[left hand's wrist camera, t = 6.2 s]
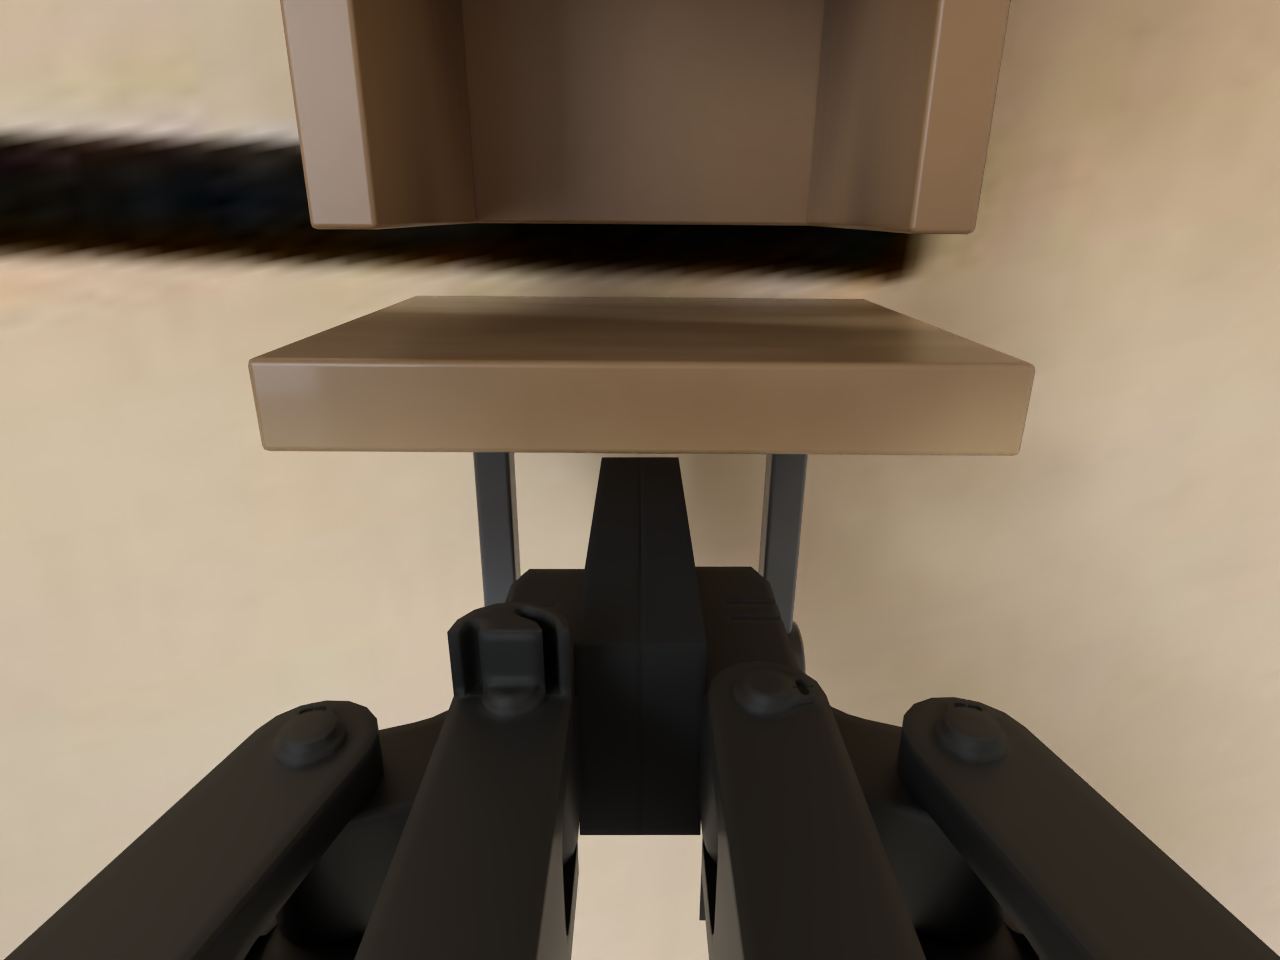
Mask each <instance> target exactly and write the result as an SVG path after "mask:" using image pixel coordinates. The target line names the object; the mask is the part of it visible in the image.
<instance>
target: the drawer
mask: <svg viewBox="0 0 1280 960" xmlns="http://www.w3.org/2000/svg"><path fill="white" fill-rule="evenodd" d="M280 3H281V10H282V17H283V24H284V32H285V39H286V46H287V53H288V61H289V68H290V75H291V82H292V90H293V97H294V104H295V111H296V119H297V126H298V133H299V140H300V147H301V155H302V162H303V169H304V176H305V184H306V191H307V198H308V205H309V213H310V220H311V224H312V227H314V228H316V229H387V228H402V227H417V226H433V225H448V224H463V223H560V224H682V225H804V226H821V227H834V228H847V229H860V230H872V231H885V232H898V233H911V234H969V233H972V232H973V231H974V229H975V224H976V218H977V212H978V205H979V199H980V192H981V186H982V180H983V173H984V167H985V160H986V154H987V147H988V141H989V135H990V128H991V122H992V115H993V109H994V103H995V96H996V90H997V83H998V77H999V71H1000V64H1001V58H1002V51H1003V45H1004V38H1005V32H1006V26H1007V19H1008V13H1009V6H1010V0H280ZM248 367H249V373H250V378H251V384H252V390H253V395H254V401H255V407H256V412H257V418H258V423H259V429H260V435H261V440H262V446H263V448H264V449H265V450H269V451H366V452H473V455H474V469H475V482H476V496H477V510H478V523H479V537H480V550H481V564H482V577H483V591H484V604H485V607H486V606H489V605H492V604H496V603H505V601H506V598H507V595H508V592H509V589H510V586H511V584H513V583H514V582H515V581H516V580H517V579H518V578H520V577H521V575H520V557H519V538H518V520H517V501H516V483H515V464H514V452H522V453H677V454H767V458H766V472H765V486H764V501H763V515H762V529H761V543H760V557H759V571H758V573H759V574H760V575H761V576H762V577H764V578H765V579H766V580H767V581H768V582H769V583H770V585H771V588H772V591H773V594H774V597H775V600H776V604H777V606H778V609H779V611H780V614H781V620H783V623H784V626H785V629H786V632H787V635H788V637H789V640H790V643H791V646H792V649H793V652H794V655H795V658H796V661H797V663H798V666H799V669H800V671H802V672H803V673H805V656H804V648H803V642H802V637H801V634H800V631H799V628H798V626H797V624H796V623H795V622H794V621H792V620H793V609H794V598H795V587H796V576H797V565H798V554H799V543H800V532H801V521H802V510H803V499H804V488H805V477H806V466H807V455H808V454H833V455H989V456H1012V455H1016V454H1018V452H1019V451H1020V446H1021V441H1022V436H1023V431H1024V425H1025V420H1026V415H1027V410H1028V405H1029V400H1030V395H1031V390H1032V384H1033V379H1034V374H1035V367H1034V365H1032V364H1030V363H1027V362H1025V361H1022V360H1020V359H1017V358H1014V357H1012V356H1009V355H1007V354H1004V353H1001V352H999V351H996V350H994V349H991V348H988V347H986V346H983V345H981V344H978V343H975V342H973V341H970V340H968V339H965V338H963V337H960V336H957V335H955V334H952V333H950V332H947V331H944V330H942V329H939V328H937V327H934V326H931V325H929V324H926V323H924V322H921V321H918V320H916V319H913V318H911V317H908V316H905V315H903V314H900V313H898V312H895V311H893V310H890V309H887V308H885V307H882V306H880V305H877V304H874V303H872V302H869V301H867V300H864V299H753V298H623V297H492V296H415V297H413V298H410V299H407V300H405V301H402V302H400V303H397V304H394V305H392V306H389V307H386V308H384V309H381V310H378V311H376V312H373V313H371V314H368V315H365V316H363V317H360V318H357V319H355V320H352V321H350V322H347V323H344V324H342V325H339V326H336V327H334V328H331V329H328V330H326V331H323V332H321V333H318V334H315V335H313V336H310V337H307V338H305V339H302V340H299V341H297V342H294V343H292V344H289V345H286V346H284V347H281V348H278V349H276V350H273V351H271V352H268V353H265V354H263V355H260V356H257V357H255V358H252V359H250V360H249V364H248Z"/></svg>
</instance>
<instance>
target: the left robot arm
mask: <svg viewBox="0 0 1280 960" xmlns="http://www.w3.org/2000/svg"><path fill="white" fill-rule="evenodd" d="M447 634H448V643H449V653H450V662H451V671H452V681H453V690H454V697H453V700H452V703H451V705H450V708H449V710H448V711H445V712H443V713H441V714H439V715H437V716H434V717H432V718H429V719H425V720H422V721H418V722H415V723H410V724H406V725H401V726H396V727H392V728H387V729H383V730H378V723H377V718H376V717H375V716H374V715H373V714H372V713H371V712H370V710H369V709H368V708H367V707H364V706H361V705H359V704H356V703H353V702H350V701H322V702H316V703H311V704H307V705H302V706H299V707H297V708H294V709H292V710H290V711H287V712H285V713H282V714H280V715H278V716H276V717H274V718H273V719H272V720H270V721H269V722H267V723H266V724H264V725H263V726H262V727H260V728H259V729H257V730H256V731H255V732H254V733H253V734H251V735H250V736H249V737H248V738H247V739H246V740H245V741H244V742H243V743H242V744H240V745H239V746H238V747H237V748H236V749H235V750H234V751H233V752H232V753H231V754H230V755H228V756H227V757H226V758H225V759H224V760H223V761H222V762H221V763H220V764H219V765H217V766H216V767H215V768H214V769H213V770H212V771H211V772H210V773H209V774H208V775H206V776H205V777H204V778H203V779H202V780H201V781H200V782H199V783H198V784H197V785H195V786H194V787H193V788H192V789H191V790H190V791H189V792H188V793H187V794H186V795H184V796H183V797H182V798H181V799H180V800H179V801H178V802H177V803H176V804H175V805H173V806H172V807H171V808H170V809H169V810H168V811H167V812H166V813H165V814H164V815H162V816H161V817H160V818H159V819H158V820H157V821H156V822H155V823H154V824H153V825H151V826H150V827H149V828H148V829H147V830H146V831H145V832H144V833H143V834H142V835H140V836H139V837H138V838H137V839H136V840H135V841H134V842H133V843H132V844H131V845H129V846H128V847H127V848H126V849H125V850H124V851H123V852H122V853H121V854H120V855H118V856H117V857H116V858H115V859H114V860H113V861H112V862H111V863H110V864H109V865H108V866H106V867H105V868H104V869H103V870H102V871H101V872H100V873H99V874H98V875H97V876H95V877H94V878H93V879H92V880H91V881H90V882H89V883H88V884H87V885H86V886H84V887H83V888H82V889H81V890H80V891H79V892H78V893H77V894H76V895H75V896H73V897H72V898H71V899H70V900H69V901H68V902H67V903H66V904H65V905H64V906H62V907H61V908H60V909H59V910H58V911H57V912H56V913H55V914H54V915H53V916H51V917H50V918H49V919H48V920H47V921H46V922H45V923H44V924H43V925H42V926H40V927H39V928H38V929H37V930H36V931H35V932H34V933H33V934H32V935H31V936H29V937H28V938H27V939H26V940H25V941H24V942H23V943H22V944H21V945H20V946H18V947H17V948H16V949H15V950H14V951H13V952H12V953H11V954H10V955H9V956H7V957H6V958H5V959H4V960H571V953H572V941H573V930H574V919H575V908H576V897H577V885H578V874H579V869H578V843H577V840H578V831H579V822H580V835H700V827H701V825H702V835H703V843H702V869H701V895H700V920H706V929H707V940H708V952H709V960H1280V957H1279V956H1278V955H1277V954H1276V953H1275V952H1274V951H1273V950H1272V949H1270V948H1269V947H1268V946H1267V945H1266V944H1265V943H1264V942H1263V941H1262V940H1260V939H1259V938H1258V937H1257V936H1256V935H1255V934H1254V933H1253V932H1252V931H1251V930H1249V929H1248V928H1247V927H1246V926H1245V925H1244V924H1243V923H1242V922H1241V921H1239V920H1238V919H1237V918H1236V917H1235V916H1234V915H1233V914H1232V913H1231V912H1229V911H1228V910H1227V909H1226V908H1225V907H1224V906H1223V905H1222V904H1221V903H1219V902H1218V901H1217V900H1216V899H1215V898H1214V897H1213V896H1212V895H1211V894H1210V893H1208V892H1207V891H1206V890H1205V889H1204V888H1203V887H1202V886H1201V885H1200V884H1198V883H1197V882H1196V881H1195V880H1194V879H1193V878H1192V877H1191V876H1190V875H1188V874H1187V873H1186V872H1185V871H1184V870H1183V869H1182V868H1181V867H1180V866H1178V865H1177V864H1176V863H1175V862H1174V861H1173V860H1172V859H1171V858H1170V857H1169V856H1167V855H1166V854H1165V853H1164V852H1163V851H1162V850H1161V849H1160V848H1159V847H1157V846H1156V845H1155V844H1154V843H1153V842H1152V841H1151V840H1150V839H1149V838H1147V837H1146V836H1145V835H1144V834H1143V833H1142V832H1141V831H1140V830H1139V829H1137V828H1136V827H1135V826H1134V825H1133V824H1132V823H1131V822H1130V821H1129V820H1128V819H1126V818H1125V817H1124V816H1123V815H1122V814H1121V813H1120V812H1119V811H1118V810H1116V809H1115V808H1114V807H1113V806H1112V805H1111V804H1110V803H1109V802H1108V801H1106V800H1105V799H1104V798H1103V797H1102V796H1101V795H1100V794H1099V793H1098V792H1096V791H1095V790H1094V789H1093V788H1092V787H1091V786H1090V785H1089V784H1088V783H1087V782H1085V781H1084V780H1083V779H1082V778H1081V777H1080V776H1079V775H1078V774H1077V773H1075V772H1074V771H1073V770H1072V769H1071V768H1070V767H1069V766H1068V765H1067V764H1065V763H1064V762H1063V761H1062V760H1061V759H1060V758H1059V757H1058V756H1057V755H1055V754H1054V753H1053V752H1052V751H1051V750H1050V749H1049V748H1048V747H1047V746H1046V745H1044V744H1043V743H1042V742H1041V741H1040V740H1039V739H1038V738H1037V737H1036V736H1034V735H1033V734H1032V733H1031V732H1030V731H1029V730H1028V729H1027V728H1026V727H1024V726H1023V725H1021V724H1020V723H1019V722H1017V721H1016V720H1014V719H1013V718H1011V717H1010V716H1008V715H1007V714H1006V713H1004V712H1002V711H999V710H997V709H994V708H992V707H990V706H987V705H985V704H982V703H980V702H975V701H971V700H965V699H960V698H955V697H946V698H930V699H927V700H924V701H921V702H918V703H916V704H914V705H913V706H912V707H911V708H910V709H909V710H908V711H907V712H906V714H905V715H904V718H903V725H902V727H899V726H894V725H889V724H885V723H880V722H875V721H871V720H866V719H863V718H859V717H856V716H852V715H849V714H846V713H844V712H842V711H840V710H837V709H835V708H833V707H831V706H830V704H829V702H828V699H827V696H826V694H825V693H824V691H823V690H822V689H821V687H820V686H819V684H818V683H817V681H815V680H814V679H812V678H811V677H809V676H808V675H806V674H805V673H803V672H802V671H800V669H799V666H798V663H797V661H796V658H795V655H794V652H793V649H792V646H791V643H790V640H789V637H788V635H787V632H786V629H785V626H784V623H783V620H781V614H780V611H779V609H778V606H777V604H776V600H775V597H774V594H773V591H772V588H771V585H770V583H769V582H768V581H767V580H766V579H765V578H764V577H762V576H761V575H760V574H759V573H758V572H757V571H755V570H754V569H753V568H752V567H695V563H694V556H693V550H692V543H691V537H690V530H689V524H688V517H687V511H686V504H685V498H684V491H683V485H682V478H681V472H680V465H679V459H678V457H602V461H601V467H600V474H599V480H598V487H597V493H596V500H595V506H594V513H593V519H592V526H591V532H590V539H589V545H588V552H587V558H586V565H585V569H529V570H528V571H527V572H525V573H524V574H523V575H522V576H521V577H520V578H518V579H517V580H516V581H515V582H514V583H513V584H511V586H510V589H509V592H508V595H507V598H506V601H505V603H496V604H492V605H489V606H486V607H482V608H479V609H476V610H473V611H472V612H470V613H468V614H467V615H465V616H463V617H461V618H460V619H458V620H457V621H456V622H455V623H454V625H453V626H452V627H451V628H450V630H449V631H448V632H447Z"/></svg>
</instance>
